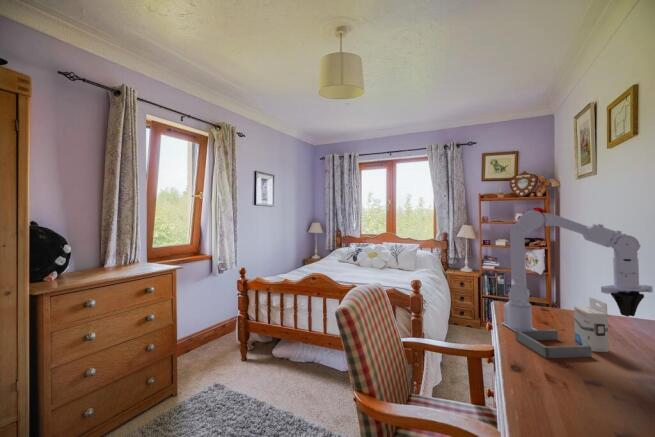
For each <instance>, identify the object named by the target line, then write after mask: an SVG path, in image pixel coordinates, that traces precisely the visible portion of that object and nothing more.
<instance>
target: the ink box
mask: <svg viewBox="0 0 655 437" xmlns="http://www.w3.org/2000/svg"><path fill="white" fill-rule="evenodd" d="M588 299H589V301H588V302H589V305H574V306H573V318H574V319H573V320H574V321H573V322H574V323H573V324H574V341H575V342H577V343H578V344H580V345H589V346H591V352H595V353H596V352H598V353H609V321H608V318H609V316H608V304H607V303H606V302H604V301H602V300H598V299H597V298H594V297H591V296H590V297H588Z"/></svg>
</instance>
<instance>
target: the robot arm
mask: <svg viewBox="0 0 655 437" xmlns="http://www.w3.org/2000/svg"><path fill="white" fill-rule="evenodd" d="M543 224H544V225H545V227H554V226H556V227H559V228H562V229H565V230H568V231H570V232H571V231H572V232H575V233H578V234H581V235H582V237H583V238H584V240H586V241H588V242H591V243H594V244H597V245H600V246H602V247H606V248H612V249H613V257H612V263H613V266H612V268H613V284H611V285H602V286H600V290H601V292H600V293H602V294H607V295H608V294H610V295H611V297H612V298H613V299H614V301H615V303H616V305H617V308H618V309H619V312H620V315H621V316H624V317H635V316H636V312H637V310H638V307H639V305H640V303H641V301H642V300H643V299H644V298H645V295H644V294H643V293H653V289H654V288H653V286H652V285H647V284H640V274H639V273H640V272H639V270H640V269H639V257H638V255H639V254H638V251H639V250H640V248H641V244H640V242H639V240H638V239H637V238H636V237H634V236H632V235H628V234H626V233H622V232H623V231H621V230H617V231H616V230H613V229H610V228H607V227H604V226H605V225H604V224H601V223H598V224H595V223H592V224H588V225H586V224H585V225H584V224H582V223H579V222H577V221H574V220H570V219H568V218H564V217H563V216H560V215H558V214H557V215H556V214H552V213H546V212H540V211H537V210H529V211H527V212H525V213H524V214H523V215H521V216H519V219H518V220H517V221H516V222H515V224H514V225H513V226H512V228H511V229H510V230H509V239H510V240H509V246H510V247H509V248H510V268H511V269H510V272H511V274H510V275H511V276H510V277H511V282H510V283H511V284H510V291H509V292H508V296H507V297H508V301H507V302H506V303H504V306H503V322H501V324H502V325H504V326H505V327H507V328H509V329H510V330H512V331H514V332H515V333H516V331H525V330H538V329H537V328H534V327H533V321H532V320H533V319H532V318H533V317H532V315H533V314H532V303H531V302H529V301H530V297H531V296H530V295H531V293H530V292H531V291H530V290H529V287H528V285H527V284H528V283H527V272H526V270H527V269H526V246H525V245H526V244H525V242H526V241H525V237H526V236H527V235H528V234H530V232H531V231H533V230H536V229H538V228H540V227H542V226H543Z"/></svg>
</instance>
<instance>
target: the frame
mask: <svg viewBox="0 0 655 437" xmlns="http://www.w3.org/2000/svg"><path fill="white" fill-rule="evenodd" d="M558 333H559V332H558V330H557V329H537V330H525V331H516V332H515V340H516V341H518V342H519V343H520V344H522V345H524V346H526V347H527V348H529V349H530V350H532V351H533V352H535V353H537V354H539V355H540V356H542V357H543V358H545V359H562V358H566V359H567V358H568V359H570V358H589V357H590V358H592V355H593V354H592V351H591V346H589V345H581V344H580V345H578V344H577V345H552V346H551V345H550V346H547V345H545V344H543V343H541V342H539V341H550V340H551V341H553V340H554V341H555V340H557V341H558V340H559V339H558V338H559V337H558Z"/></svg>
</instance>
